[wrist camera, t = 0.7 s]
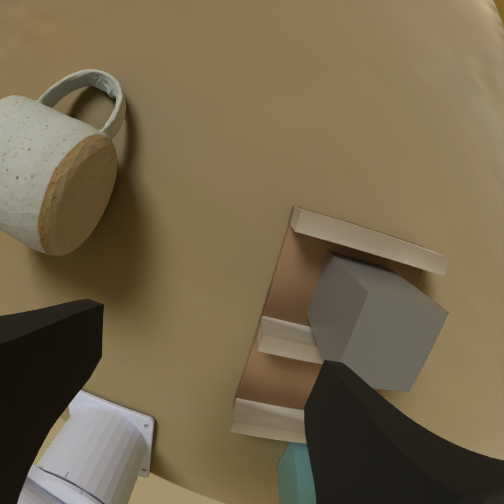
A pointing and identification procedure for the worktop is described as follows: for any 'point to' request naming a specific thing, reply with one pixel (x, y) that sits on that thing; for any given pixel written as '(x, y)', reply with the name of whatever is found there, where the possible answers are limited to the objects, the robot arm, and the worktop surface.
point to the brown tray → (297, 323)
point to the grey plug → (373, 321)
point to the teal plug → (296, 476)
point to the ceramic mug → (56, 166)
